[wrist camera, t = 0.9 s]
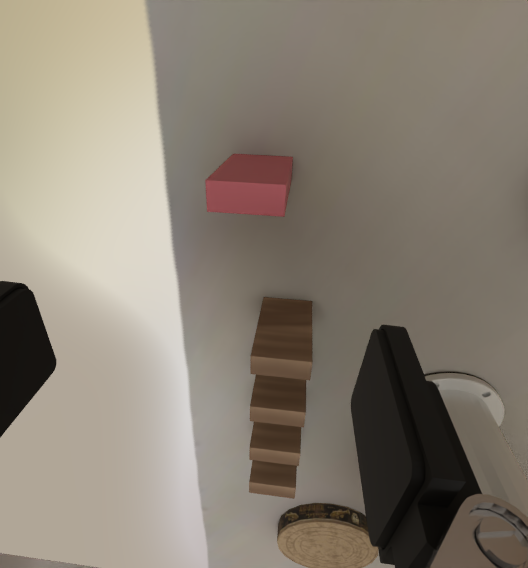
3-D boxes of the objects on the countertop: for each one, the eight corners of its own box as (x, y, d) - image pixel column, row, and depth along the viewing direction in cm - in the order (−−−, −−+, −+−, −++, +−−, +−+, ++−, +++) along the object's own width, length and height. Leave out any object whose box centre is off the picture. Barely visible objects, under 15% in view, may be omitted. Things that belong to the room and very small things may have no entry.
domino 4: (259, 413, 45) (249, 482, 38) (298, 418, 45) (295, 488, 37) (259, 423, 46) (249, 492, 39) (297, 428, 46) (294, 498, 38)
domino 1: (263, 297, 36) (250, 356, 28) (312, 301, 36) (312, 362, 28) (263, 312, 37) (250, 373, 29) (310, 317, 37) (309, 380, 29)
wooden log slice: (260, 513, 58) (257, 533, 56) (345, 491, 52) (347, 512, 50) (310, 556, 64) (310, 576, 61) (392, 541, 58) (396, 563, 55)
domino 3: (260, 380, 42) (249, 447, 34) (302, 384, 42) (300, 453, 34) (260, 391, 43) (249, 459, 36) (301, 396, 43) (298, 465, 35)
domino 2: (262, 341, 39) (250, 406, 31) (306, 346, 39) (305, 412, 31) (261, 355, 40) (249, 420, 32) (305, 359, 40) (303, 427, 32)
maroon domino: (233, 153, 29) (205, 180, 22) (292, 156, 29) (286, 185, 21) (233, 177, 30) (207, 211, 23) (291, 181, 30) (284, 216, 22)
